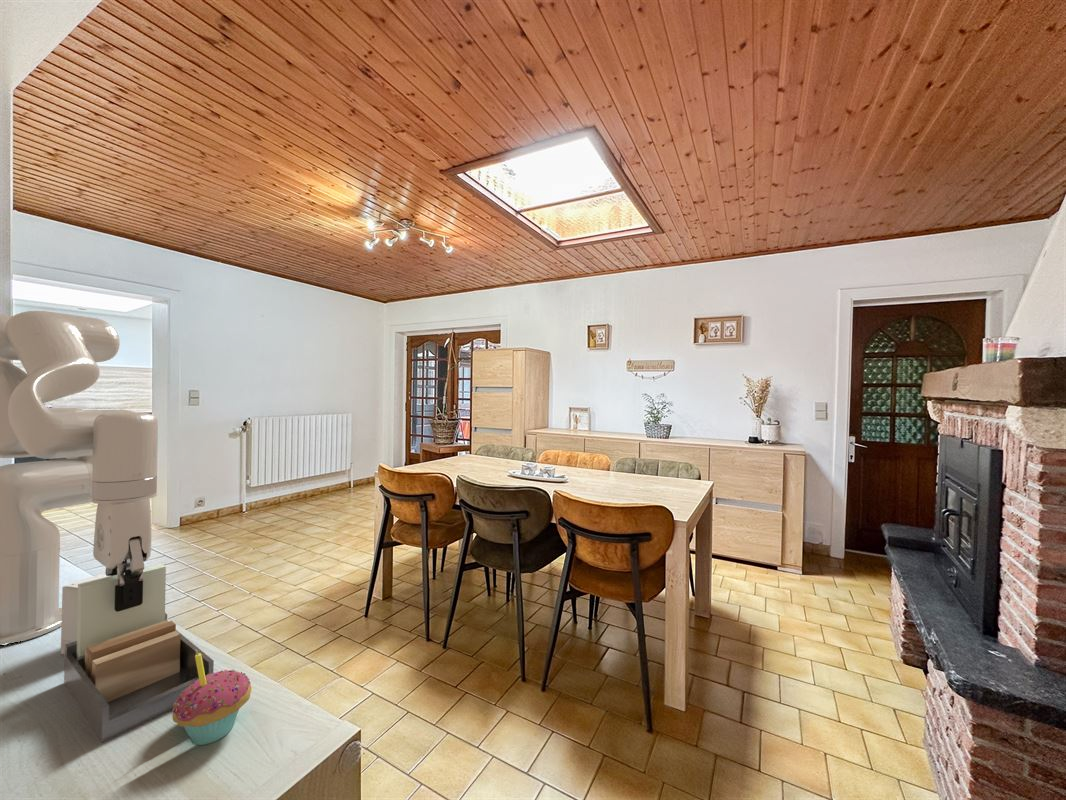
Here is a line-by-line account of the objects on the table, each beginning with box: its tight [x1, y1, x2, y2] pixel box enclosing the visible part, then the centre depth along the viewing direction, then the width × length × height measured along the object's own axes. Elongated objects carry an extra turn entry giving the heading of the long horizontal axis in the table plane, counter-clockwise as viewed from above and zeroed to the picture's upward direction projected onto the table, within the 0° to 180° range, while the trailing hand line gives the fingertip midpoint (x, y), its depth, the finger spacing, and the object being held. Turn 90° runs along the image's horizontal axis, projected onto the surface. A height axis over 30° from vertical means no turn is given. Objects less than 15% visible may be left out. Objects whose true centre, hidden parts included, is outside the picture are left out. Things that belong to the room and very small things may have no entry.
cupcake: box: [171, 650, 252, 746], centre depth 58 cm, size 9×8×12 cm
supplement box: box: [60, 572, 109, 655], centre depth 75 cm, size 7×7×13 cm
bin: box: [63, 612, 215, 744], centre depth 65 cm, size 20×12×7 cm, turn 57°
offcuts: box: [85, 619, 180, 702], centre depth 66 cm, size 6×10×7 cm, turn 147°
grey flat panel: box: [77, 563, 167, 658], centre depth 69 cm, size 2×10×15 cm, turn 147°
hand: (123, 602), depth 69 cm, fingers open, 4 cm apart
